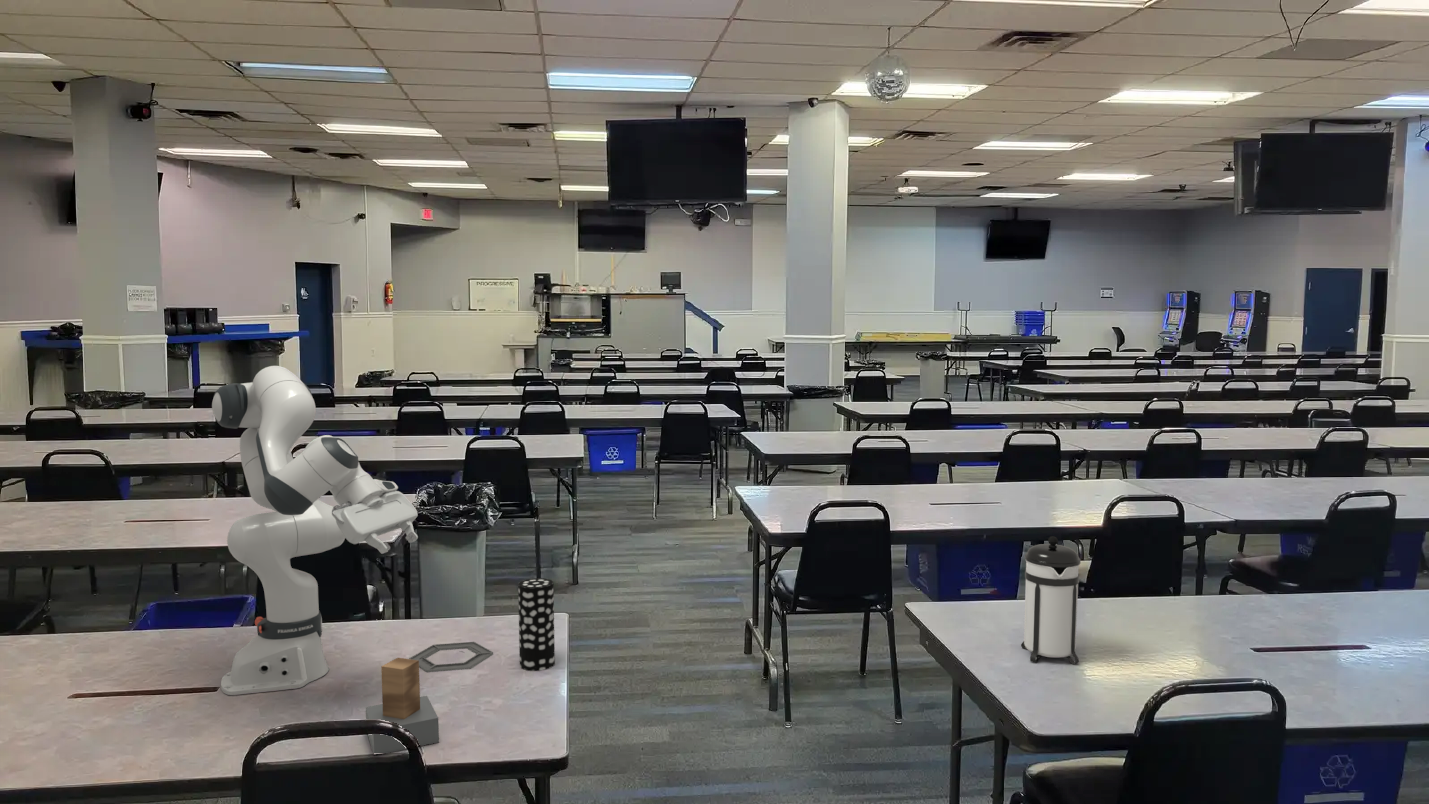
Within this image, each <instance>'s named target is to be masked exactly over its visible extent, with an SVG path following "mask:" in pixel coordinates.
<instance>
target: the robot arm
mask: <svg viewBox="0 0 1429 804" xmlns="http://www.w3.org/2000/svg"><path fill="white" fill-rule="evenodd" d="M211 409H212V412H213V415H214V419H215V421H216V422H217V423H218V424H219V426H221V427H222V428H225V429H238V428H242V429H243V428H244V429H245V430H244V431H243V433H242V434H241V436H240V438H239V452H240V453H239V455H240V461H241V466H242V469H243V473H244V477H245V480H246V485H247V488H248V491H249V495H250V497H251V499H252V500H253V501H254V502H255V503H256V504H257V505H259V506H260V507H263V508H266V509H269V510H272V512H265V513H256V514H252V515H249V516H246V517H243V518H241V519H238V520H236V521H235V522H234V523H233V524H232V525H231V526H230V528H229V531H228V533H227V538H226V539H227V540H226V542H227V543H226V545H227V547H228V548H227V549H228V551H229V553H230V555H232V557H233V558H234V559H235V560H236V561H238V562H239V563H241V564H243V565H245V566H247V567H248V568H250V569H251V570H252V571H254V573H255V574H256V575H257V577H258V578H259V580H260V583H261V584H262V587H263V591H264V600H265V609H266V616H265V617H263V616H257V617H255V619H254V624H255V625H254V626H255V627H256V632H257V635H256V636H255V637H254V638H252V639H251V640H250V641H249V642H248V643H247V644H245V645H244V646H243V647H242V648H240V649H239V650H238V651H237V652H236V653H235V655H234V657H233V661H232V664H231V669H230V671H228V672H227V673H225V674H223V676H222V678H221V680H220V689H221V692H222V693H224V694H225V695H227V696H236V695H237V696H238V695H247V694H256V693H264V692H265V693H266V692H274V691H284V690H285V691H286V690H292V689H293V690H294V689H300V688H303V687H304V686H306V685H307V684H309V683H311V682H313V681H315V680H318V679H320V678H322V677H323V676H326V674H327V673H328V672H329V670H330V668H329V666H328V663H327V660H326V656H325V652H324V648H323V642H322V634H323V633H322V632H323V618H322V613H321V611H320V610H319V609H320V608H319V586H318V585H319V584H318V581H317V580H316V578H315V577H314V576H313V575H312V574H311V573H308V572H306V571H303V570H299V569H297V568H294V567H293V568H292V566H291V559H292V558H295V557H296V558H297V557H301V556H308V555H314V554H315V555H316V554H320V553H324V552H326V551H330V550H332V549H335V548H338V547H340V546H341V545H342V544H343V543H344V542H345V539H346V540H347V542H349V543H350V544H353V545H357V544H359V543H362V542H365V543H366V544H367V545H369V546H371V547H373V548H375V549H377V550H378V552H379V553H380V554H382V555H383V554H386V553H388V552H389V551H390V550H391V546H390V544H389V543H388V542H387V541H382V540H381V539H379V538H378V537H379V536H381V535H385V534H387V533H391V532H394V531H395V530H399V529H401V530H402V532H405V534H406V536H405V540H406V541H408V543H409V544H411V543H414V542H416V541H417V540H418V538H419V536H418V534H417V533H416V532H415V530H414V529H415V528H414V526H413V522H414V521H415V520H416V518H417V517H418V516H419V515H418V510H417V509H416V507H415V506H414V504H413V503H412V502H411V501H410V500H409V499H408V497H407V496H406V495H405V494H404V493H403V492H401V491H399V490H398V489H399V486H398V485H397V484H396V483H395V482H394V481H390V480H380V479H376V478H374V479H373V477H372V476H371V474H369V473H368V472H366V471H365V470H364V469H363V468H362V466H361V464H360V461H359V456H358V455H357V454H356V453H355V451H354V450H353V449H352V448H351V446H349V444H348V443H347V442H346V441H345V440H343V439H342V438H341V437H340V438H339V437H334V436H332V435H329V434H326V435H325V434H324V435H319V436H318V437H315V438H314V439H312V440H311V441H310V442H308V443H307V445H306V446H305V447H304V450H303V451H302V452H300V453H299V454H298V455H297V456H296V457H293V454H292V451H291V448H293V446H294V444H295V443H296V442H297V441H298V440H299V439H300V438H301V437H302V436H303V435H304V434H305V432H306V431H307V430H308V429H309V428H310V427H311V426H312V424H313V423H314V420H315V417H316V411H317V410H316V409H317V408H316V403H315V399H314V398H313V395H312V391H311V389H310V388H309V386H307V384H306V383H304V382H303V381H302V380H301V379H300V378H299V377H298V375H296V374H295V373H294V372H293V371H291V370H289V369H288V368H287V367H284V366H280V365H270V366H266V367H264V368H262V369H260V370H259V371H258V372H257V373H256V374H255V376H254V378H253V380H252V381H251V382H244V383H236V382H235V383H229V384H226V385H222V386H220V387H218V388H217V390H216V391H215V392H214V394H213V399H212V402H211ZM246 428H247V429H246ZM329 491H330V493H331V494H332V497H333V499H334V500H335V502H336V503H337V505H335V506H334V505H330V504H328V503H326V502H324V501H322V500H320V498H322V497H323V496H324V495H326V493H328V492H329Z"/></svg>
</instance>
